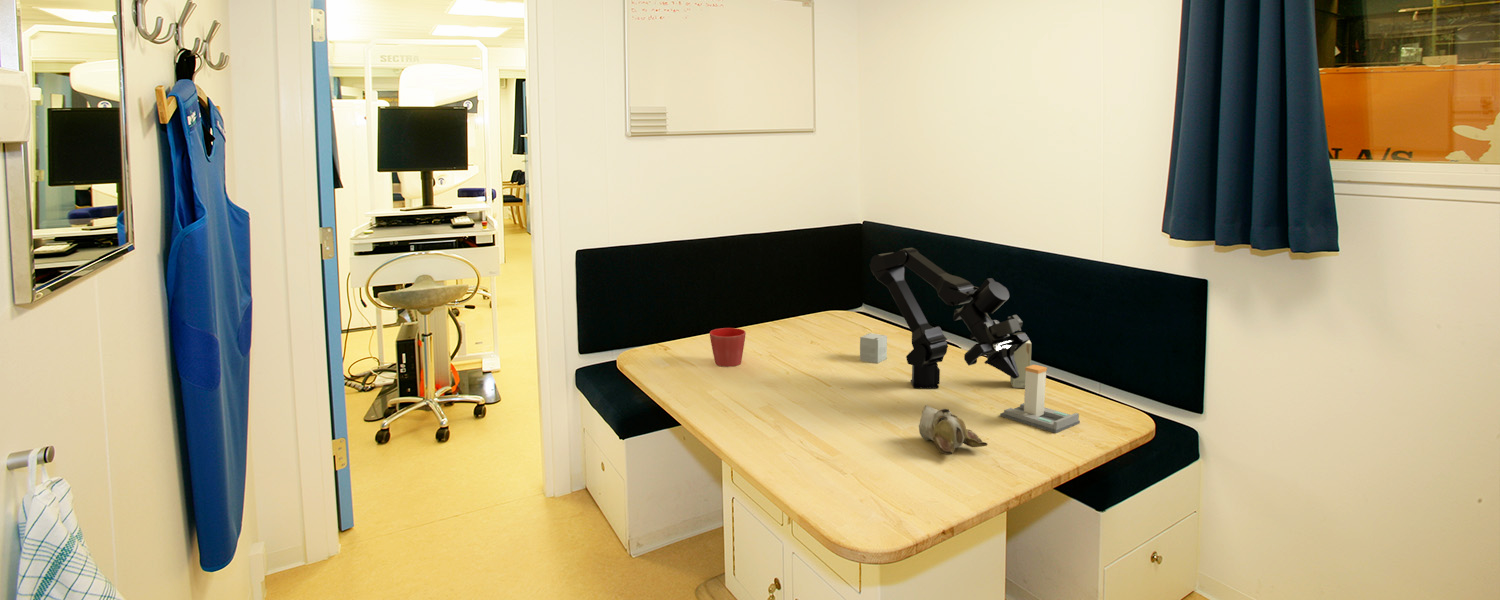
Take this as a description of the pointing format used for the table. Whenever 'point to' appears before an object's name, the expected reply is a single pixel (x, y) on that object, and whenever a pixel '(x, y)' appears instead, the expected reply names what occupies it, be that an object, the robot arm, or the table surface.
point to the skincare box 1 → (873, 348)
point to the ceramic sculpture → (946, 430)
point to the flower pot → (727, 346)
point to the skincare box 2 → (1022, 364)
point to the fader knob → (1035, 390)
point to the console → (1043, 418)
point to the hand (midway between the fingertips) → (1017, 377)
